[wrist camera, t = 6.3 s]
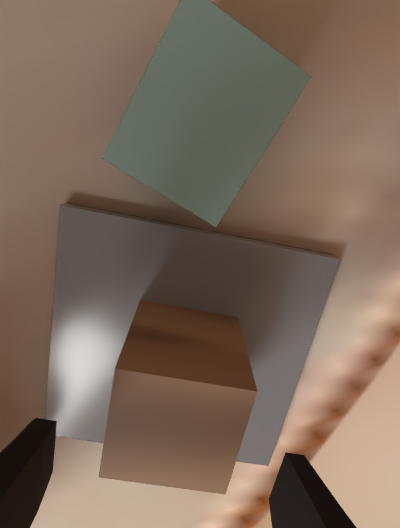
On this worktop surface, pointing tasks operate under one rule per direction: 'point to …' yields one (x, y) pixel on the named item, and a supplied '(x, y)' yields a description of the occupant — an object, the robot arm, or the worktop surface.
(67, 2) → the worktop surface
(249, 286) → the slate coaster
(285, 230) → the worktop surface
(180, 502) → the worktop surface
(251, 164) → the teal block
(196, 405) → the walnut block
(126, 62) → the worktop surface
